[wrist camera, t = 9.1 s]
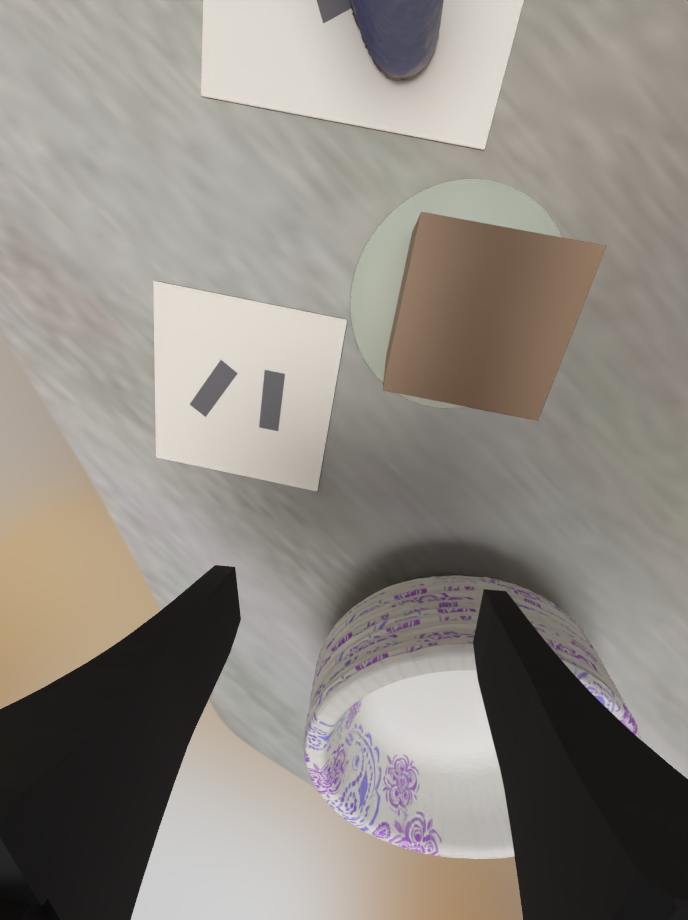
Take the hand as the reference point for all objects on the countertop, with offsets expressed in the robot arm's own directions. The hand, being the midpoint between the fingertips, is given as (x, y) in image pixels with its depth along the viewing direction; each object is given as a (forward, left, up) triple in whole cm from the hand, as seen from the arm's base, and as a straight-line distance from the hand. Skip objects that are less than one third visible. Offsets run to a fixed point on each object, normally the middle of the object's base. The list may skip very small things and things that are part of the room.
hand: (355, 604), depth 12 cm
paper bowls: (-7, +11, -11) cm, 17 cm away
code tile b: (+7, -2, -10) cm, 13 cm away
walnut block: (-2, -8, -10) cm, 13 cm away
